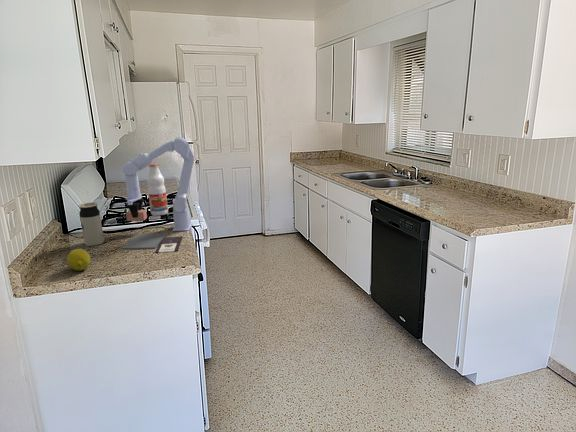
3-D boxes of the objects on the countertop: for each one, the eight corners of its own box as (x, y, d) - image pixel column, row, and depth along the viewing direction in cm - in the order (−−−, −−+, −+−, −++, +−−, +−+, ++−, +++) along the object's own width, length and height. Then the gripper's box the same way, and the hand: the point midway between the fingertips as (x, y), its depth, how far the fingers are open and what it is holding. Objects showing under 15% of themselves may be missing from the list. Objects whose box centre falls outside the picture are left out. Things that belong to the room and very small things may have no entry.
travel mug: (104, 239, 183) (98, 201, 178) (103, 244, 176) (97, 205, 171) (85, 241, 180) (78, 203, 175) (84, 247, 173) (76, 207, 168)
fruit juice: (165, 210, 229) (159, 162, 221) (170, 213, 222) (165, 164, 214) (148, 213, 224) (142, 164, 216) (153, 216, 217) (147, 166, 209)
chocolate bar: (182, 236, 182) (177, 250, 165) (182, 238, 183) (177, 252, 165) (162, 237, 181) (155, 252, 164) (162, 239, 181) (155, 254, 164)
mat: (137, 235, 186) (137, 234, 186) (167, 234, 186) (166, 233, 186) (122, 249, 169) (122, 248, 169) (155, 248, 169) (154, 247, 169)
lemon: (91, 272, 147) (87, 252, 144) (67, 276, 144) (63, 256, 142) (92, 262, 156) (89, 243, 154) (70, 265, 153) (66, 246, 151)
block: (127, 221, 187) (125, 212, 185) (130, 218, 191) (129, 210, 190) (144, 220, 187) (143, 212, 186) (147, 217, 191) (145, 209, 190)
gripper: (129, 185, 191) (133, 212, 195) (118, 191, 177) (123, 220, 181) (144, 184, 192) (147, 211, 196) (134, 191, 178) (138, 220, 182)
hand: (137, 215), depth 188 cm, fingers closed on block, 4 cm apart
